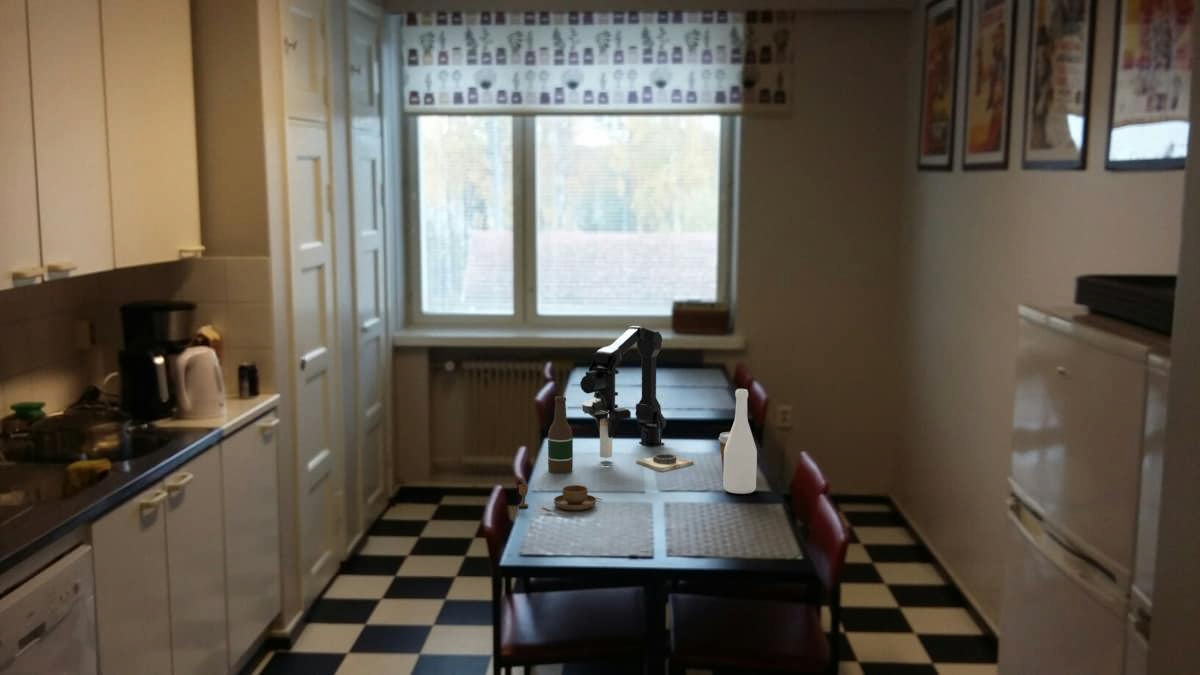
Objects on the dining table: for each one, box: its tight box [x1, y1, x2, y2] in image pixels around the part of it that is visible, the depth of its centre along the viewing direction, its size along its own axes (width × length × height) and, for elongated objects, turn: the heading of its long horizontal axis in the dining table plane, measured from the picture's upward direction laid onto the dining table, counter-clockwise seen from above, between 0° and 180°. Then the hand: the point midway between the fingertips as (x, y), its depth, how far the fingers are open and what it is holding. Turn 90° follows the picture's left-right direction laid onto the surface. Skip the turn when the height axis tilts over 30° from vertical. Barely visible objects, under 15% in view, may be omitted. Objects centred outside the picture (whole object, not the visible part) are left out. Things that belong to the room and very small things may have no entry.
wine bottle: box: [722, 388, 758, 495], centre depth 295 cm, size 10×10×30 cm
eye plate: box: [635, 453, 694, 472], centre depth 325 cm, size 14×12×3 cm
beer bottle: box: [547, 395, 574, 475], centre depth 315 cm, size 8×8×24 cm
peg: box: [599, 419, 613, 459], centre depth 326 cm, size 4×4×12 cm
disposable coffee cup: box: [718, 431, 731, 473], centre depth 316 cm, size 10×10×12 cm
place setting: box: [518, 483, 603, 516], centre depth 284 cm, size 18×20×6 cm
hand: (606, 436), depth 326 cm, fingers closed on peg, 4 cm apart
